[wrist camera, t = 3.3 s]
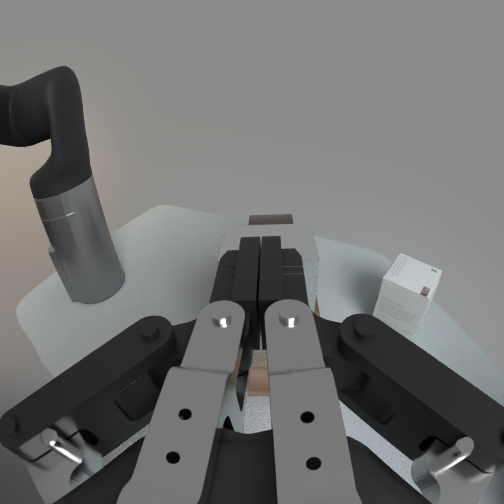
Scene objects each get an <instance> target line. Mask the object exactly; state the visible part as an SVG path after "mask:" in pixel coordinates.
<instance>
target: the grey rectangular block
mask: <svg viewBox="0 0 504 504" xmlns="http://www.w3.org/2000/svg"><path fill="white" fill-rule="evenodd" d="M256 236H260V241H261V239H262V236H281V249H286V248H295V249H296V250H297V251H298V252H299V254H300V255H301V256H302V262H303V269H304V275H305V282H306V290H307V297H308V304H309V307H310V309H311V310H312V311H313V312H314V310H315V300H316V290H317V278H318V266H319V256H318V251H317V247H316V243H315V239H314V235H313V231H312V227H311V224H272V225H243V226H226V230H225V234H224V238H223V242H222V246H221V250H220V254H219V258H218V266H219V262H220V258H221V257H222V256H223V255H224V254H225V253H226V251H227V250H239V245H240V239H241V237H256ZM251 367H267V350H262V340H261V338H260V350H253V359H252V364H251Z"/></svg>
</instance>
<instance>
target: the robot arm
mask: <svg viewBox="0 0 504 504" xmlns="http://www.w3.org/2000/svg"><path fill="white" fill-rule="evenodd" d="M48 139H51V146H52V151H51V155H50V157H49V159H48V160H47V162H46V163H45V164H44V165H43V166H42V167H41V168H40V169H39V170H37V171H36V172H35V173H34V174H33V175H32V177H31V178H30V188H31V191H32V194H33V197H34V200H35V203H36V206H37V209H38V212H39V215H40V217H41V220H42V223H43V225H44V228H45V231H46V233H47V236H48V238H49V241H50V243H51V246H50V248H49V254H50V257H51V259H52V261H53V263H54V265H55V268H56V270H57V272H58V274H59V276H60V278H61V280H62V282H63V284H64V286H65V288H66V290H67V292H68V294H69V296H70V298H71V300H72V301H80V302H82V303H96V302H100V301H102V300H105V299H107V298H109V297H110V296H112V295H113V294H114V293H116V292H117V291H118V290H119V288H120V287H121V286H122V284H123V282H124V278H125V277H124V273H123V270H122V266H121V264H120V261H119V259H118V256H117V253H116V250H115V247H114V245H113V242H112V239H111V236H110V233H109V230H108V227H107V223H106V220H105V217H104V214H103V211H102V207H101V204H100V200H99V196H98V193H97V189H96V186H95V182H94V178H93V174H92V170H91V166H90V159H89V148H88V142H87V137H86V131H85V124H84V115H83V105H82V97H81V91H80V86H79V82H78V80H77V77H76V75H75V73H74V72H73V71H72V70H71V69H70V68H68V67H66V66H60V67H56V68H54V69H51V70H49V71H47V72H44V73H42V74H40V75H37V76H35V77H33V78H31V79H29V80H27V81H25V82H23V83H21V84H18V85H14V86H3V85H0V144H2V145H8V146H15V147H26V146H31V145H34V144H37V143H40V142H42V141H45V140H48ZM260 338H261V340H262V350H267V369H268V384H269V398H270V413H271V430H267V431H262V432H258V433H253V434H244V414H245V408H246V401H247V395H248V389H249V383H250V377H251V370H252V367H251V364H252V359H253V350H260ZM146 372H147V373H146ZM143 374H144V375H143ZM142 375H143V376H142ZM139 377H140V378H139ZM138 378H139V379H138ZM135 380H136V381H135ZM134 381H135V382H134ZM131 383H132V384H131ZM127 386H128V387H127ZM124 388H125V389H124ZM123 389H124V390H123ZM120 391H121V392H120ZM119 392H120V393H119ZM339 400H340V401H341V402H342V403H343V404H345V405H346V406H347V407H348V408H349V409H350V410H351V411H353V412H354V413H355V414H356V415H357V416H358V417H360V418H361V419H362V420H363V421H364V422H366V423H367V424H368V425H369V426H370V427H371V428H373V429H374V430H375V431H376V432H377V433H379V434H380V435H381V436H382V437H383V438H385V439H386V440H387V441H388V442H390V443H391V444H392V445H393V446H394V447H396V448H397V449H398V450H399V451H401V452H402V453H403V454H404V455H406V456H407V457H408V458H409V459H411V460H412V461H413V464H412V468H411V476H412V479H413V481H414V483H415V484H416V485H417V486H418V487H419V489H420V490H421V492H422V495H421V494H420V493H419V492H418V491H417V490H415V489H414V488H413V487H412V486H411V485H410V484H408V483H407V482H406V481H405V480H404V479H403V478H401V477H400V476H399V475H398V474H397V473H396V472H395V471H393V470H392V469H391V468H390V467H389V466H388V465H387V464H386V463H384V462H383V461H382V460H381V459H380V458H379V457H378V456H377V455H376V454H375V453H373V452H372V451H371V450H370V449H369V448H368V447H367V446H365V445H364V444H362V443H361V442H359V441H357V440H355V439H353V438H351V437H348V436H346V433H345V428H344V423H343V418H342V413H341V409H340V404H339ZM149 423H150V424H149ZM147 424H149V427H148V430H147V433H146V436H144V437H142V438H141V439H139V440H138V441H136V442H135V443H134V444H132V445H131V446H130V447H129V448H127V449H126V450H125V451H123V452H122V453H121V454H120V455H118V456H117V457H116V458H115V459H113V460H112V461H111V462H109V463H108V464H107V465H106V466H103V457H104V456H105V455H107V454H108V453H110V452H111V451H112V450H114V449H115V448H117V447H118V446H119V445H121V444H122V443H123V442H125V441H126V440H128V439H129V438H130V437H132V436H133V435H134V434H136V433H137V432H138V431H139V430H141V429H142V428H143V427H145V426H146V425H147ZM0 442H1V444H2V445H3V446H4V447H6V448H7V449H8V450H10V451H12V452H13V453H14V454H16V455H18V456H19V457H20V458H21V459H22V460H23V461H24V462H25V464H26V467H27V469H28V471H29V473H30V475H31V477H32V480H33V481H34V484H35V486H36V488H37V489H38V491H39V493H40V495H41V497H42V499H43V501H44V502H45V504H477V502H478V501H479V499H480V497H481V496H482V494H483V493H484V491H485V490H486V488H487V486H488V485H489V483H490V481H491V480H492V478H493V476H494V474H495V473H496V472H497V471H498V470H500V469H501V468H503V467H504V407H503V406H501V405H500V404H499V403H497V402H496V401H495V400H493V399H492V398H490V397H489V396H488V395H486V394H485V393H483V392H482V391H481V390H479V389H478V388H477V387H475V386H474V385H472V384H471V383H470V382H468V381H467V380H465V379H464V378H463V377H461V376H460V375H458V374H457V373H455V372H454V371H453V370H451V369H450V368H448V367H447V366H446V365H444V364H443V363H441V362H440V361H438V360H437V359H436V358H434V357H433V356H431V355H430V354H429V353H427V352H426V351H424V350H423V349H421V348H420V347H419V346H417V345H416V344H414V343H413V342H411V341H410V340H408V339H407V338H406V337H404V336H403V335H401V334H400V333H398V332H397V331H395V330H394V329H393V328H391V327H390V326H388V325H387V324H385V323H384V322H382V321H381V320H379V319H378V318H376V317H374V316H372V315H369V314H354V315H351V316H349V317H347V318H346V319H345V320H344V321H343V322H342V323H339V322H334V321H329V320H326V319H323V318H321V317H319V316H317V315H316V314H315V313H314V312H313V311H312V310H311V309H310V307H309V304H308V297H307V290H306V282H305V275H304V269H303V262H302V256H301V255H300V254H299V252H298V251H297V250H296V249H295V248H286V249H281V236H262V239H261V241H260V236H256V237H241V239H240V245H239V250H227V251H226V253H225V254H224V255H223V256H222V257H221V258H220V262H219V266H218V270H217V274H216V278H215V283H214V287H213V291H212V295H211V300H210V304H208V305H207V306H205V307H204V308H203V309H202V310H201V311H200V313H199V315H198V318H197V319H196V320H193V321H191V322H187V323H183V324H179V325H174V326H172V325H171V323H170V322H169V321H168V320H167V319H166V318H164V317H161V316H148V317H145V318H142V319H140V320H139V321H137V322H136V323H134V324H133V325H131V326H130V327H128V328H127V329H125V330H124V331H123V332H121V333H120V334H118V335H117V336H115V337H114V338H112V339H111V340H109V341H108V342H106V343H105V344H104V345H102V346H101V347H99V348H98V349H96V350H95V351H93V352H92V353H90V354H89V355H88V356H86V357H85V358H83V359H82V360H80V361H79V362H77V363H76V364H75V365H73V366H72V367H70V368H69V369H67V370H66V371H64V372H63V373H62V374H60V375H59V376H57V377H56V378H54V379H53V380H52V381H50V382H49V383H47V384H46V385H44V386H43V387H41V388H40V389H39V390H37V391H36V392H34V393H33V394H31V395H30V396H28V397H27V398H26V399H24V400H23V401H22V402H20V403H19V404H17V405H16V406H14V407H13V408H11V409H10V410H8V411H7V412H6V413H5V414H4V415H3V416H2V418H1V419H0Z"/></svg>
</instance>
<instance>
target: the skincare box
mask: <svg viewBox="0 0 504 504" xmlns="http://www.w3.org/2000/svg"><path fill="white" fill-rule="evenodd" d="M441 274H442V270H440V269H437V268H435V267H432V266H430V265H427V264H425V263H422V262H420V261H418V260H416V259H413V258H411V257H409V256H406V255H404V254H401V253H400V254H399V255H398V256H397V258H396V259H395V261H394V262H393V264H392V265H391V266H390V268H389V269H388V271H387V272H386V274H385V275H384V276H383V278H382V282H381V286H380V290H379V293H378V297H377V300H376V304H375V307H374V311H373V314H372V316H374V317H376V318H378V319H379V320H381V321H382V322H384V323H385V324H387V325H388V326H390V327H391V328H393V329H394V330H395V331H397V332H398V333H400V334H401V335H403V336H404V337H406V338H407V339H408V340H410V341H411V342H413V340H414V338H415V336H416V334H417V332H418V330H419V328H420V326H421V324H422V322H423V320H424V318H425V315H426V313H427V311H428V308H429V306H430V303H431V301H432V298H433V296H434V293H435V291H436V288H437V285H438V282H439V280H440V277H441Z"/></svg>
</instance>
